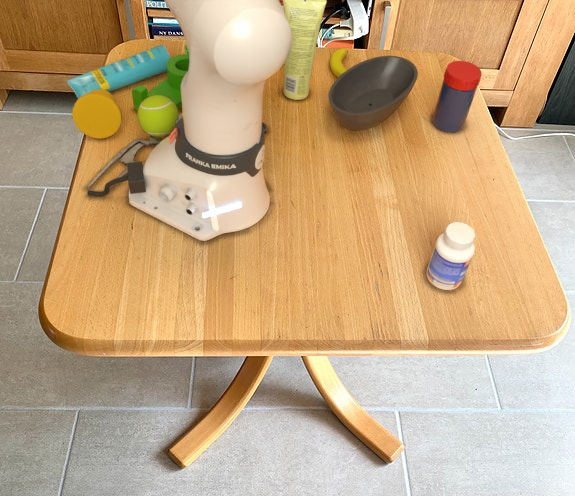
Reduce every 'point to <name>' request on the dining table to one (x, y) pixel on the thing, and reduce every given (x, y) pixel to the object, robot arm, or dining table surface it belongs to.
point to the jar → (452, 108)
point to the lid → (462, 75)
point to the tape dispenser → (166, 83)
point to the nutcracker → (127, 155)
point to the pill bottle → (451, 256)
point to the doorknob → (97, 114)
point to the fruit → (338, 61)
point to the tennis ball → (157, 115)
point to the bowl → (371, 91)
